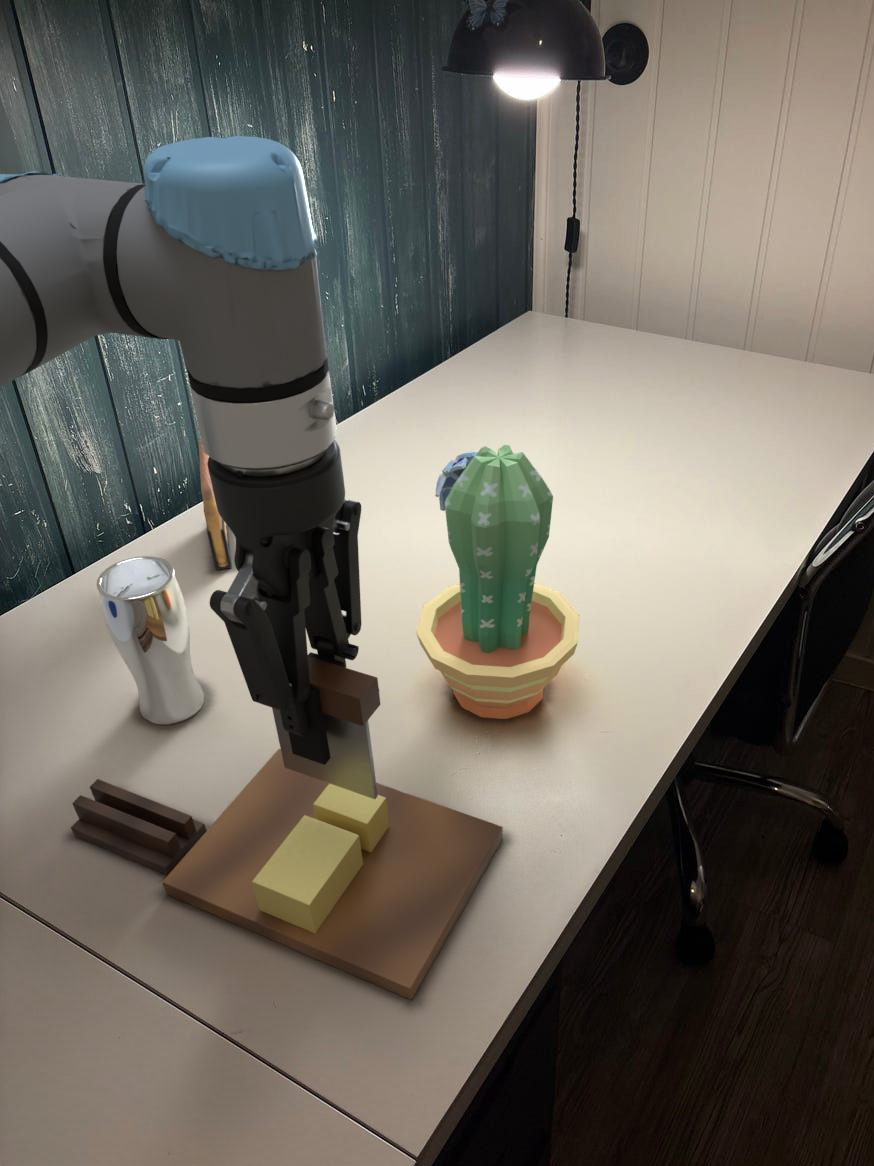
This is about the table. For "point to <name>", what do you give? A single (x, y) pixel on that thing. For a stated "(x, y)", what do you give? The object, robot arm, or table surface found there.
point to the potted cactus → (497, 588)
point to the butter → (308, 873)
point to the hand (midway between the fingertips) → (323, 741)
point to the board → (372, 899)
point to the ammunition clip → (214, 517)
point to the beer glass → (152, 636)
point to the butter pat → (353, 814)
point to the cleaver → (340, 728)
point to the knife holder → (135, 826)
